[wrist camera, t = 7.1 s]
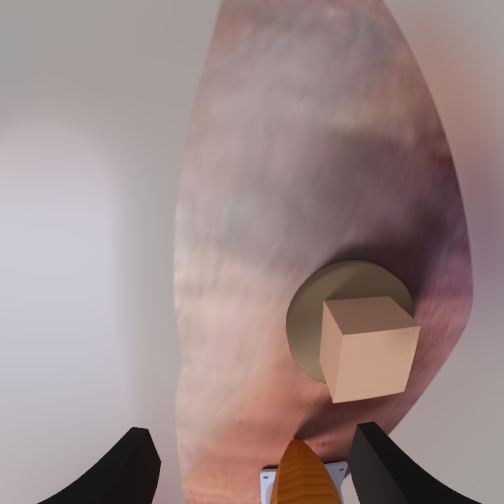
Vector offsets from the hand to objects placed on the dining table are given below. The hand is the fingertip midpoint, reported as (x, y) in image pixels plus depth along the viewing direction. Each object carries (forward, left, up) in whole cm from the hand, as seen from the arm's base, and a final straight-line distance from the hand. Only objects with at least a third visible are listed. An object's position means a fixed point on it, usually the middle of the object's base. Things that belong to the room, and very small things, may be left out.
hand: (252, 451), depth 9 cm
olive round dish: (0, -6, -10) cm, 12 cm away
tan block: (0, -6, -8) cm, 10 cm away
